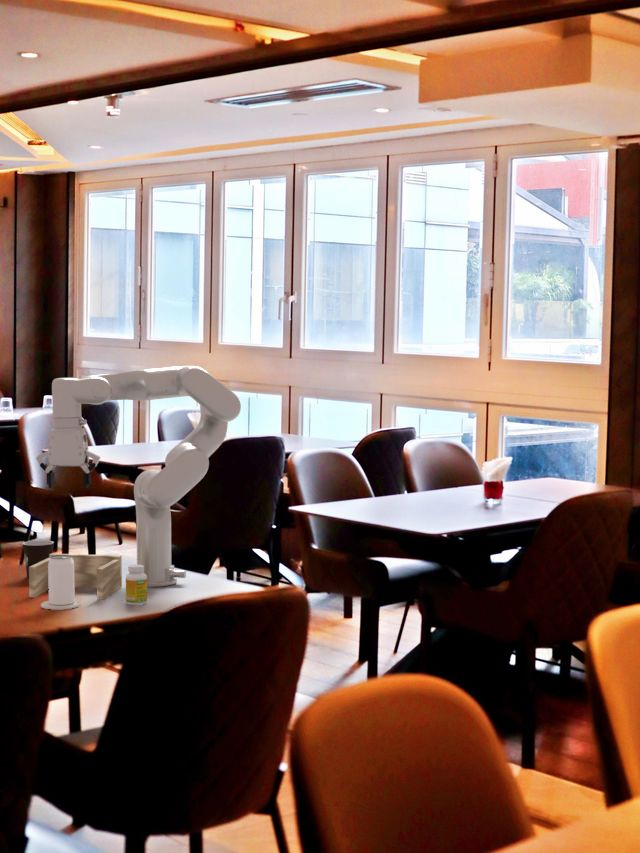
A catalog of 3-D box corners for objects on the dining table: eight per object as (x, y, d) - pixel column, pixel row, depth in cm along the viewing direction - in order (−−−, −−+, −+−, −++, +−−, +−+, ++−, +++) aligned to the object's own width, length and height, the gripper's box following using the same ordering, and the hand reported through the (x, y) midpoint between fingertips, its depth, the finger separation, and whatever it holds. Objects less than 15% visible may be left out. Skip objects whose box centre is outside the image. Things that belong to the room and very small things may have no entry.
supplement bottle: (137, 606, 307) (137, 568, 307) (121, 603, 310) (121, 566, 310) (151, 602, 312) (151, 565, 311) (135, 600, 315) (135, 563, 314)
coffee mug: (51, 580, 341) (51, 545, 340) (20, 580, 340) (20, 545, 340) (57, 572, 353) (57, 538, 352) (27, 573, 352) (27, 538, 351)
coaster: (86, 602, 312) (86, 599, 312) (73, 610, 302) (72, 608, 302) (49, 600, 314) (49, 598, 314) (34, 609, 304) (34, 606, 304)
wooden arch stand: (121, 587, 331) (121, 555, 331) (102, 599, 315) (102, 566, 315) (51, 585, 334) (51, 553, 334) (29, 597, 318) (28, 563, 318)
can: (71, 606, 305) (70, 558, 304) (46, 606, 305) (45, 558, 304) (77, 600, 311) (76, 554, 310) (52, 600, 311) (51, 554, 311)
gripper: (102, 422, 327) (104, 485, 328) (41, 423, 329) (42, 485, 330) (94, 424, 320) (96, 489, 321) (31, 425, 322) (33, 489, 323)
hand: (69, 487), depth 326 cm, fingers open, 9 cm apart
